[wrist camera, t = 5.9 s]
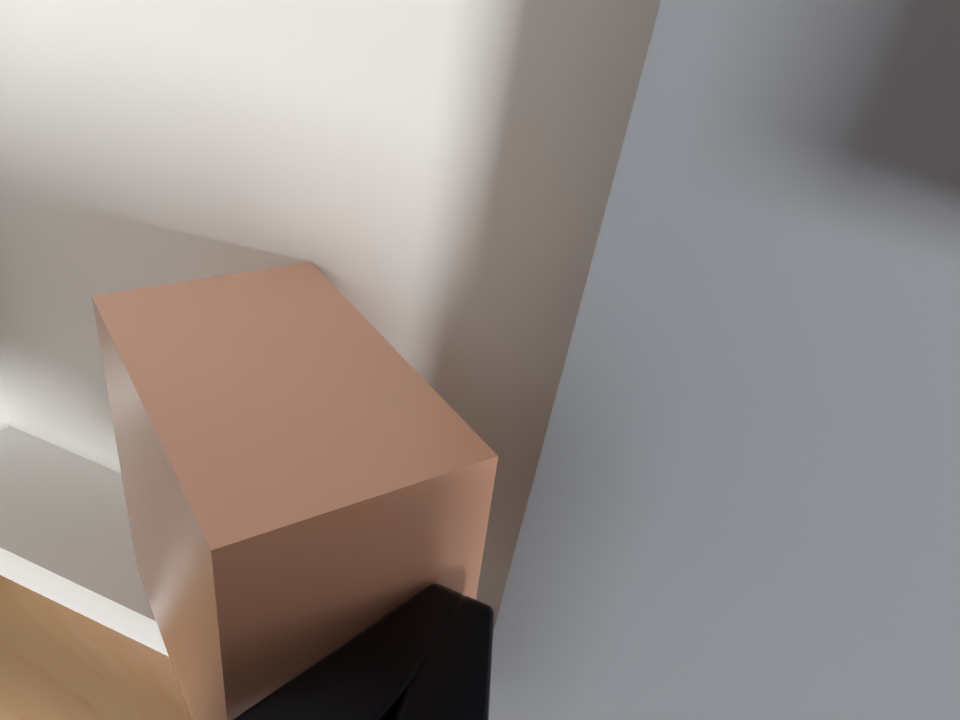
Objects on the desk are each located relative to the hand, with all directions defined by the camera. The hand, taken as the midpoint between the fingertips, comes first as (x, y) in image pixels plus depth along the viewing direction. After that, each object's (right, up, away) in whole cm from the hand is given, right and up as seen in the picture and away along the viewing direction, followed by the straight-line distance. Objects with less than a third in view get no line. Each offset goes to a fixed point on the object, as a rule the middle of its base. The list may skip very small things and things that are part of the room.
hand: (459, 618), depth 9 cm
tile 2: (-1, +1, +2) cm, 3 cm away
